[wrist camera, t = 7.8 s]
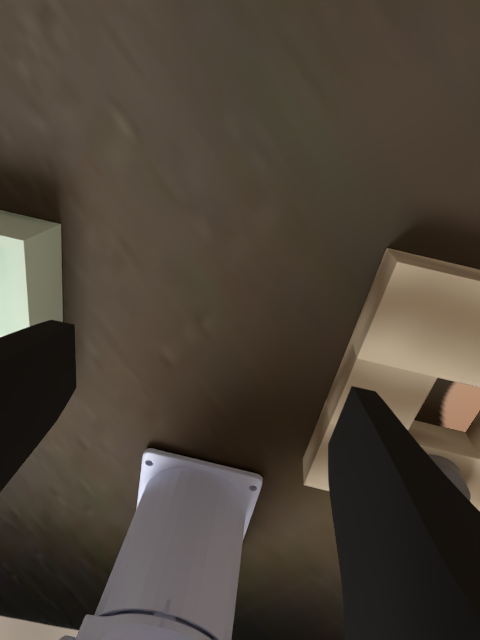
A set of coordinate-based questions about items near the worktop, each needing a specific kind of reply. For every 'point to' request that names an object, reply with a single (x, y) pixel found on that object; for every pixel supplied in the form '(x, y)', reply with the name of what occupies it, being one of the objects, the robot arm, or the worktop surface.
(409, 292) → the plate
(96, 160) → the worktop surface
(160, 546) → the robot arm
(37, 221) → the tray
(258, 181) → the worktop surface
